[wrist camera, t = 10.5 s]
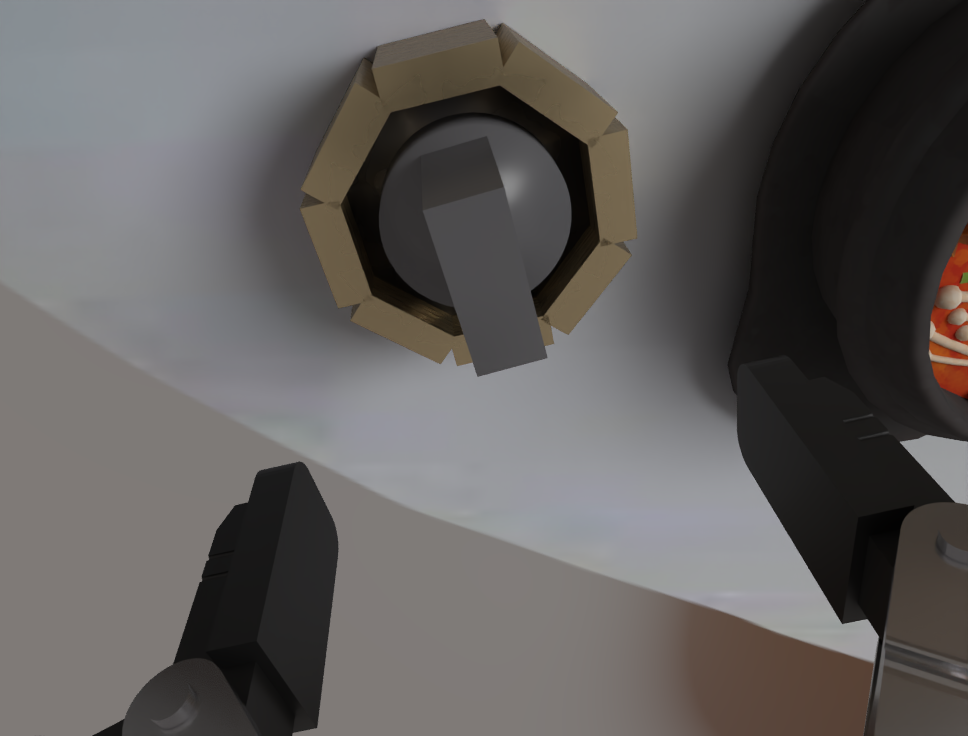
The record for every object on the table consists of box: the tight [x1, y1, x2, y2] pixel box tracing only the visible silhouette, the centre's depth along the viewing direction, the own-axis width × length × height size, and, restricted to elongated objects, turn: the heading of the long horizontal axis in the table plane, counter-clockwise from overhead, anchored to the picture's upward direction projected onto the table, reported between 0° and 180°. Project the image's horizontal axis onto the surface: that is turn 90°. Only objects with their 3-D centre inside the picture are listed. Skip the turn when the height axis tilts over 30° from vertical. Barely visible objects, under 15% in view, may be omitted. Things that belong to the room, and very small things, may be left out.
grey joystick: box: [379, 112, 571, 376], centre depth 20 cm, size 6×6×6 cm
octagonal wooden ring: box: [300, 19, 637, 366], centre depth 23 cm, size 10×10×4 cm
